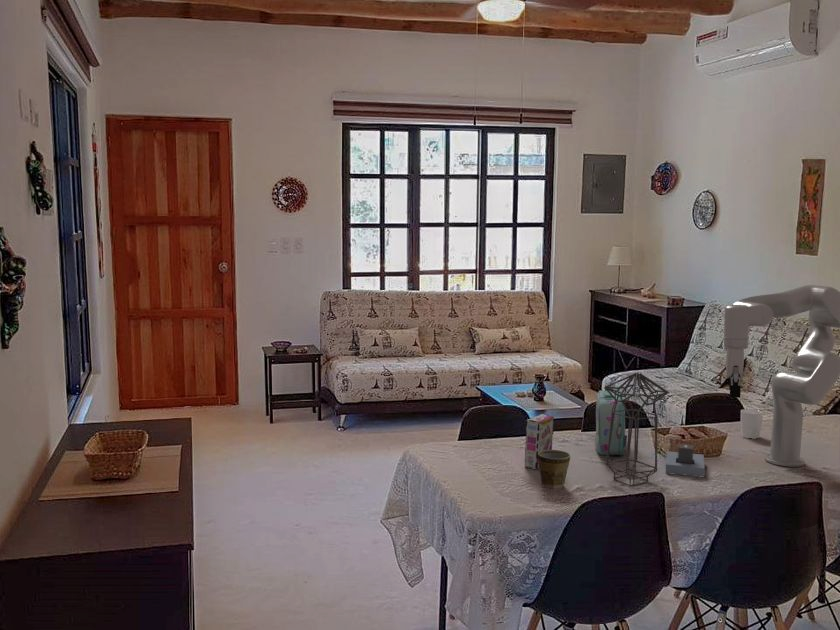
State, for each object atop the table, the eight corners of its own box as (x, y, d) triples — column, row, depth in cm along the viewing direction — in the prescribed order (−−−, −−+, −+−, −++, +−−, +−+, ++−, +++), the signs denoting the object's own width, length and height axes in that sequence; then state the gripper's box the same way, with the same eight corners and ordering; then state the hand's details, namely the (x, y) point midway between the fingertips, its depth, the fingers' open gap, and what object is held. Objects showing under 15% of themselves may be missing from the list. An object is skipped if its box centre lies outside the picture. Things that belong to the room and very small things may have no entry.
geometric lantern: (595, 477, 263) (601, 370, 260) (632, 471, 271) (637, 367, 268) (630, 491, 250) (637, 378, 246) (667, 484, 257) (674, 375, 254)
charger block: (677, 467, 275) (679, 443, 274) (691, 468, 274) (692, 445, 273) (677, 471, 271) (679, 447, 270) (691, 472, 269) (693, 448, 268)
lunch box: (626, 460, 281) (629, 400, 279) (596, 459, 283) (599, 398, 280) (621, 440, 307) (623, 384, 305) (593, 438, 309) (595, 383, 306)
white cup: (735, 434, 318) (736, 409, 317) (754, 433, 319) (756, 408, 318) (745, 439, 311) (747, 414, 309) (765, 439, 311) (766, 413, 310)
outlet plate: (666, 459, 283) (667, 450, 283) (703, 463, 280) (703, 454, 279) (665, 473, 268) (665, 463, 268) (703, 477, 265) (704, 467, 264)
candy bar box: (537, 470, 269) (539, 422, 267) (524, 467, 272) (525, 419, 270) (552, 462, 278) (554, 415, 276) (539, 459, 281) (541, 413, 279)
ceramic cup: (574, 489, 251) (576, 457, 250) (545, 491, 248) (546, 460, 247) (556, 476, 264) (557, 446, 262) (527, 478, 261) (528, 448, 260)
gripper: (723, 337, 276) (722, 387, 278) (724, 347, 259) (722, 399, 262) (747, 338, 273) (745, 388, 276) (749, 347, 257) (747, 400, 259)
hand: (734, 393), depth 269 cm, fingers open, 9 cm apart
